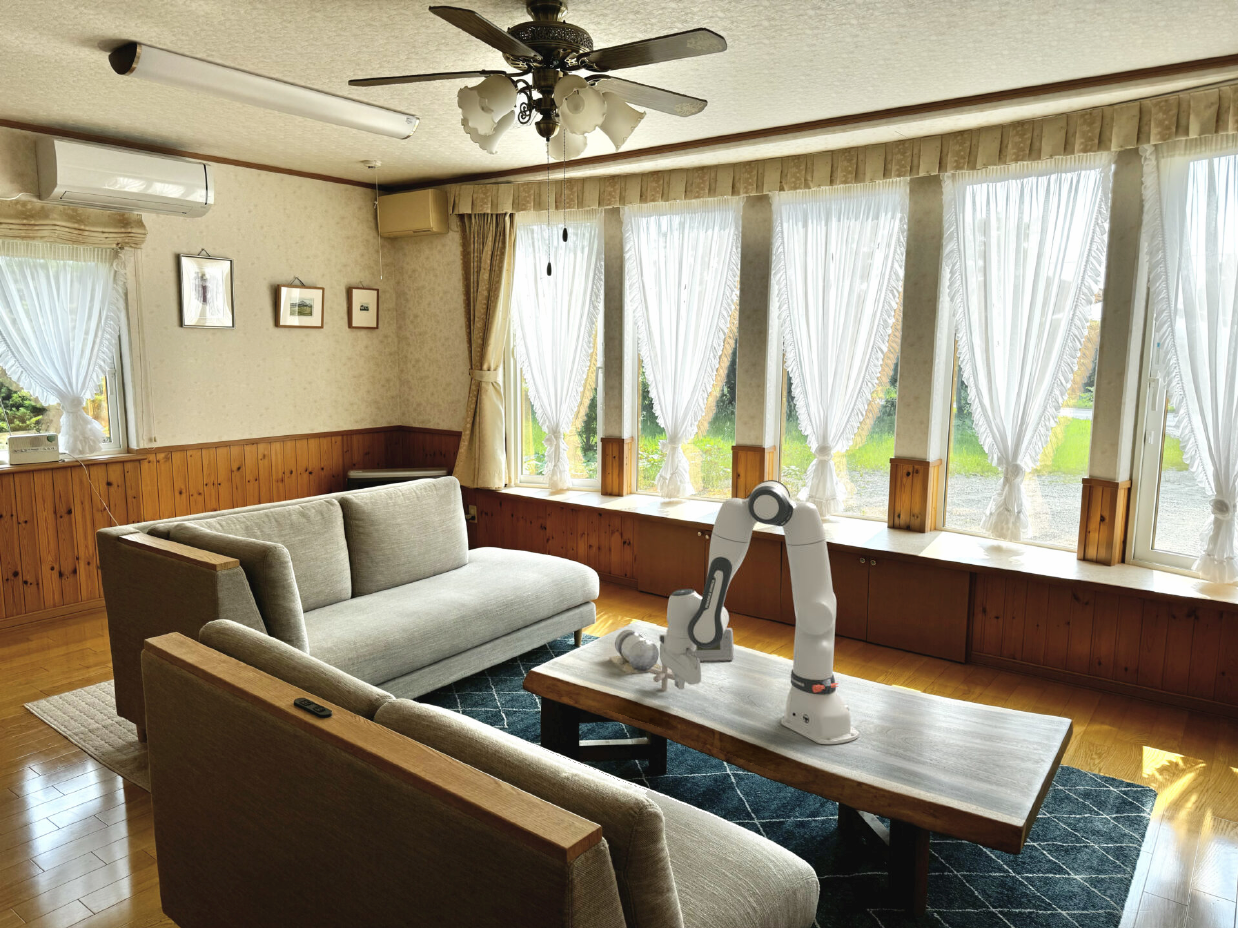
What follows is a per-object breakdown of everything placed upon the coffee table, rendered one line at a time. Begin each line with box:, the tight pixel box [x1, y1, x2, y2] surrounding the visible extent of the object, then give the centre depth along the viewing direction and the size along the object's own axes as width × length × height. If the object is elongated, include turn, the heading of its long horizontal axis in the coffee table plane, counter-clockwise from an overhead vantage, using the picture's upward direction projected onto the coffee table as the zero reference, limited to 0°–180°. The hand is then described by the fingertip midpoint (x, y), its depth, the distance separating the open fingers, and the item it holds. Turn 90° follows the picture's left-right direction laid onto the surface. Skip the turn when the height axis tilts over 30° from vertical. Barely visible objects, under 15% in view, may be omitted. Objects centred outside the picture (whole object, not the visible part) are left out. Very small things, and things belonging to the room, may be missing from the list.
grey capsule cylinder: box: [608, 629, 662, 676], centre depth 280 cm, size 14×13×11 cm
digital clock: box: [694, 627, 735, 663], centre depth 288 cm, size 16×9×11 cm, turn 86°
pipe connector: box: [649, 662, 675, 692], centre depth 260 cm, size 10×10×10 cm
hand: (679, 687), depth 250 cm, fingers closed
